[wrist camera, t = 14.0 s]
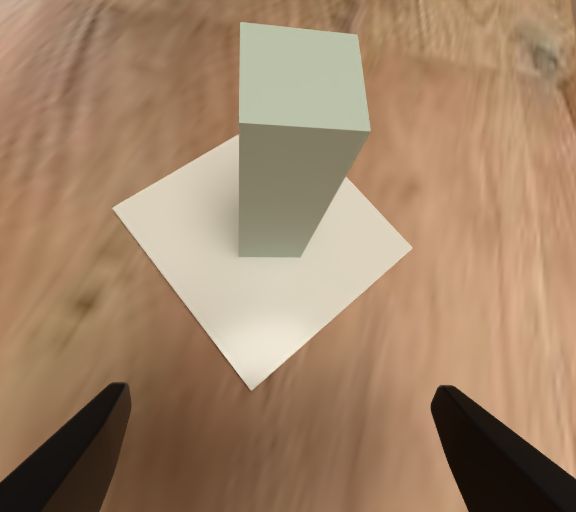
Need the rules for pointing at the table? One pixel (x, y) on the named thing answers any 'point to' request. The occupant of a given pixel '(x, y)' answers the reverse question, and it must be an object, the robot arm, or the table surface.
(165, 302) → the table surface
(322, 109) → the block
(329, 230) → the tile
